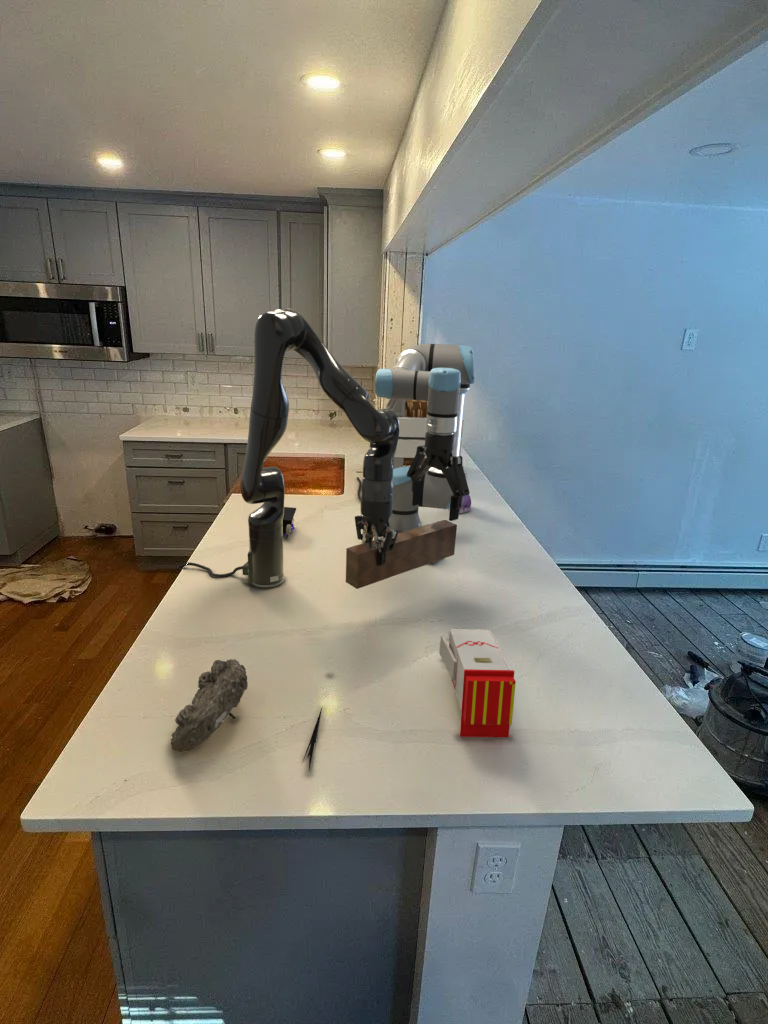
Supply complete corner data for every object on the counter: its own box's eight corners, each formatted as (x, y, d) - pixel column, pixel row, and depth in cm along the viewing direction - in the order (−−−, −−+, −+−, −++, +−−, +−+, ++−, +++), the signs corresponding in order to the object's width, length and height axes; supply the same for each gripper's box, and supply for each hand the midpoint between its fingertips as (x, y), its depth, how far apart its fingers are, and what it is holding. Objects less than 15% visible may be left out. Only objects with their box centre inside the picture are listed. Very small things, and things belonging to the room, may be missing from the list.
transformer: (381, 463, 289) (385, 382, 275) (444, 464, 292) (450, 384, 279) (389, 482, 257) (393, 392, 243) (459, 483, 261) (467, 394, 247)
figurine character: (292, 545, 190) (297, 524, 203) (291, 525, 186) (296, 505, 200) (271, 544, 189) (278, 523, 203) (270, 524, 186) (277, 504, 199)
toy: (489, 613, 130) (525, 677, 101) (485, 667, 133) (518, 744, 104) (437, 612, 130) (457, 676, 101) (434, 666, 133) (453, 743, 103)
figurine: (457, 515, 220) (461, 478, 215) (443, 507, 229) (446, 471, 224) (477, 512, 224) (481, 475, 219) (462, 504, 233) (466, 469, 228)
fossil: (195, 660, 117) (247, 628, 112) (227, 691, 120) (279, 661, 115) (146, 746, 98) (206, 711, 93) (185, 779, 101) (245, 748, 96)
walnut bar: (357, 589, 135) (358, 554, 132) (345, 582, 138) (346, 548, 135) (454, 554, 156) (457, 524, 153) (442, 549, 159) (444, 519, 156)
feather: (331, 679, 122) (336, 673, 122) (307, 777, 96) (313, 769, 95) (324, 675, 122) (329, 669, 121) (298, 772, 95) (304, 764, 95)
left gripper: (345, 490, 136) (344, 555, 142) (384, 506, 126) (381, 576, 132) (370, 485, 141) (367, 548, 146) (409, 500, 131) (405, 568, 136)
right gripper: (396, 424, 148) (392, 501, 155) (468, 444, 130) (460, 529, 138) (417, 421, 152) (412, 496, 160) (489, 440, 135) (480, 523, 142)
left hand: (374, 561), depth 139 cm, fingers closed on walnut bar, 4 cm apart
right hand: (434, 511), depth 149 cm, fingers open, 13 cm apart
